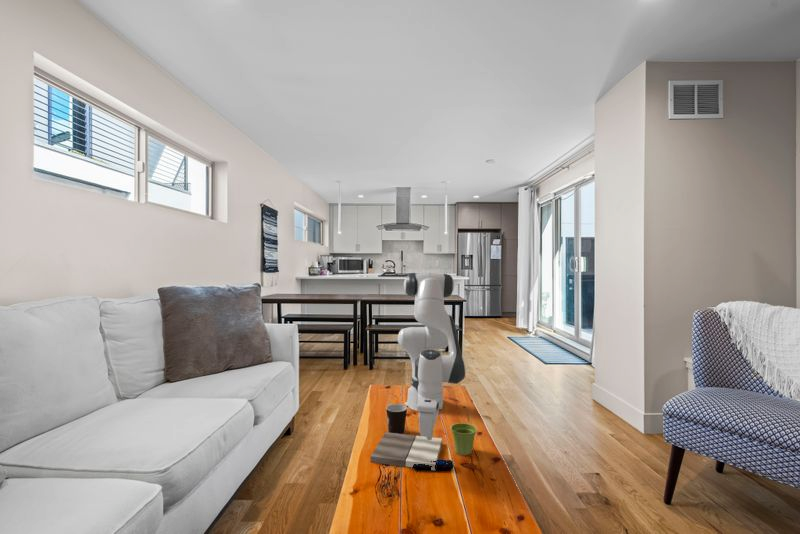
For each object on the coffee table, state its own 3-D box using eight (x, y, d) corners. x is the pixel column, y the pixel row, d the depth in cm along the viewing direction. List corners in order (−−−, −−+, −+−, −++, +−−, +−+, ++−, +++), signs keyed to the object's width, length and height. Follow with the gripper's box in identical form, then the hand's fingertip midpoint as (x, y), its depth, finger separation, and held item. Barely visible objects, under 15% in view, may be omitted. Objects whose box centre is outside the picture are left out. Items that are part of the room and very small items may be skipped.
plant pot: (476, 459, 129) (476, 434, 129) (449, 456, 131) (449, 431, 131) (477, 447, 138) (477, 424, 138) (451, 444, 140) (451, 421, 141)
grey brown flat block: (385, 437, 146) (385, 432, 146) (415, 440, 143) (415, 435, 143) (370, 462, 127) (370, 456, 127) (404, 466, 124) (404, 460, 124)
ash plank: (416, 440, 143) (416, 435, 143) (442, 443, 141) (442, 438, 141) (405, 466, 124) (405, 460, 124) (435, 470, 122) (435, 464, 122)
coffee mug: (404, 437, 146) (404, 412, 146) (383, 435, 147) (383, 410, 148) (409, 426, 157) (410, 402, 157) (390, 424, 159) (390, 401, 159)
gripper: (426, 387, 139) (425, 424, 139) (415, 408, 119) (415, 450, 119) (442, 389, 137) (442, 426, 137) (435, 410, 117) (434, 453, 117)
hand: (429, 438), depth 128 cm, fingers closed
